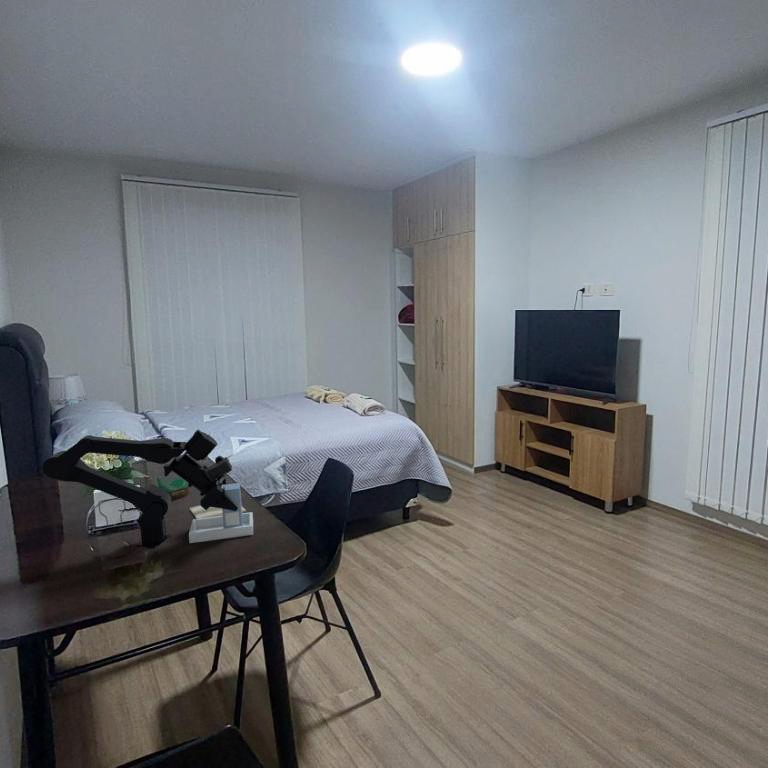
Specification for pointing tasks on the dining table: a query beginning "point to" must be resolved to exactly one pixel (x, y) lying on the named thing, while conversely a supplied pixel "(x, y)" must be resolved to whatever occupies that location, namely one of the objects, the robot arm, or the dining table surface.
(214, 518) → the tray
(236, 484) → the carton
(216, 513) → the board
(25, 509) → the dining table surface
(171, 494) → the food container
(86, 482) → the robot arm
